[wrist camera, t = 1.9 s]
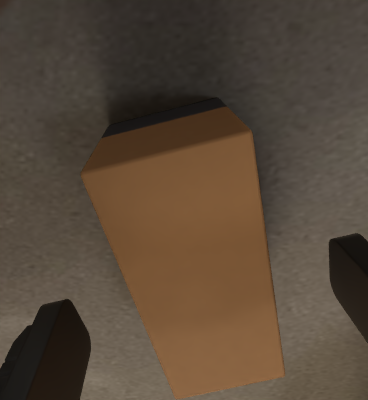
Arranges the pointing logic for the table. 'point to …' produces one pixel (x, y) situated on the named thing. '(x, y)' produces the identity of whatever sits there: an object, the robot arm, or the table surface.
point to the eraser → (191, 243)
